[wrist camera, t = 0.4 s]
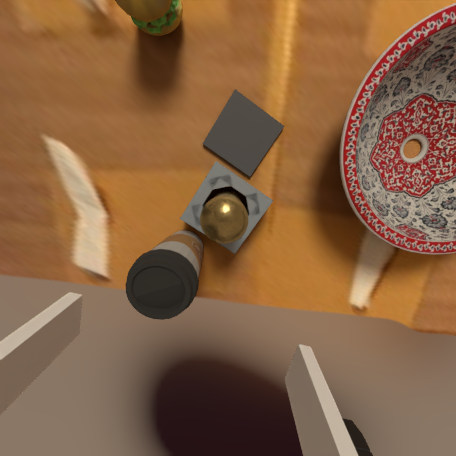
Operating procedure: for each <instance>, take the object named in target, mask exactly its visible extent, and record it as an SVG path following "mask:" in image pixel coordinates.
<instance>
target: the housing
mask: <svg viewBox="0 0 456 456" xmlns="http://www.w3.org/2000/svg"><path fill="white" fill-rule="evenodd" d="M228 186H232V187H233V188H235V189H236V190H238V191H239V192H240V193H242V194H243V195H245V199H246V204H247V213H248V227H247V229H246V231H245V233H244V234H243V236H242V237H240V238H239V239H238V240H236V241H234V242H231V243H226V244H224V243H219V244H220V245H222V246H224V247H225V248H227V249H228V250H230V251H231V252H233V253H234V254H235V253H236V251H237V250H238V249H239V247H240V246H241V245H242V243H243V242H244V240H245V239H246V238H247V236H248V235H249V234H250V232H251V231H252V229H253V228H254V227H255V225H256V224H257V222H258V221H259V220H260V218H261V217H262V216H263V214H264V213H265V211H266V210H267V209H268V207H269V206H270V204H271V203H272V202H273V200H272V199H270V198H269V197H267V196H266V195H264V194H263V193H261V192H260V191H259V190H257V189H256V188H254V187H253V186H251V185H250V184H248V183H247V182H246V181H244V180H243V179H241V178H240V177H238V176H237V175H235V174H234V173H233V172H231V171H230V170H228V169H227V168H225V167H224V166H222V165H221V164H220V163H218V162H217V161H216V162H215V164H214V165H213V167H212V168H211V170H210V172H209V173H208V175H207V176H206V178H205V180H204V181H203V183H202V184H201V186H200V188H199V189H198V191H197V192H196V194H195V196H194V197H193V199H192V200H191V202H190V204H189V205H188V207H187V208H186V210H185V212H184V213H183V215H182V216H181V218H180V219H181V220H183V221H184V222H186V223H188V224H189V225H191V226H192V227H194V228H195V229H197V230H199V231H200V232H202V233H203V234H205V233H204V232H203V230H202V228H201V224H200V215H201V212H202V209H203V207H204V206H205V205H206V200H207V199H208V197H209V196H210V194H211V193H212V191H213V189H218V188H223V187H228Z"/></svg>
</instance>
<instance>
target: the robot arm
mask: <svg viewBox="0 0 456 456" xmlns="http://www.w3.org/2000/svg"><path fill="white" fill-rule="evenodd" d="M81 308H82V295H80V294H76V293H71V292H69V293H68V294H66V295H65V296H63V297H62V298H61V299H59V300H58V301H56V302H55V303H54V304H52V305H51V306H50V307H48V308H47V309H45V310H44V311H43V312H41V313H40V314H38V315H37V316H36V317H34V318H33V319H31V320H30V321H28V322H27V323H26V324H24V325H23V326H21V327H20V328H19V329H17V330H16V331H14V332H13V333H12V334H10V335H9V336H7V337H6V338H5V339H3V340H2V341H1V342H0V415H1V414H2V413H3V411H5V410H6V409H7V408H8V407H9V406H10V405H11V404H12V402H13V401H14V400H15V399H16V398H17V397H18V396H19V395H20V394H21V393H22V392H23V391H24V390H25V389H26V388H27V387H28V386H29V385H30V384H31V383H32V382H33V381H34V380H35V379H36V378H37V377H38V376H39V375H40V374H41V373H42V371H44V370H45V369H46V367H47V366H49V365H50V363H51V362H52V361H53V360H54V359H55V358H56V357H57V356H58V355H59V354H60V353H61V352H62V351H63V350H64V349H65V348H66V347H67V346H68V345H69V344H70V343H71V342H72V341H73V340H74V339H75V338H76V337H77V336H78V335H79V332H80V320H81ZM285 382H286V386H287V390H288V394H289V398H290V402H291V407H292V411H293V415H294V419H295V423H296V427H297V431H298V436H299V440H300V444H301V448H302V452H303V456H373V455H372V453H371V452H370V449H369V447H368V445H367V443H366V441H365V439H364V437H363V435H362V433H361V432H360V431H359V429H358V428H357V427H356V425H355V424H354V423H353V421H351V420H347V419H343V418H342V417H341V415H340V413H339V410H338V408H337V406H336V404H335V401H334V399H333V397H332V395H331V392H330V390H329V388H328V385H327V383H326V381H325V379H324V376H323V374H322V372H321V370H320V367H319V365H318V363H317V360H316V358H315V356H314V354H313V351H312V349H311V347H309V346H305V345H301V344H298V346H297V349H296V351H295V354H294V357H293V359H292V362H291V364H290V367H289V370H288V373H287V375H286V378H285Z"/></svg>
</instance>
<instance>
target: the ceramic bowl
mask: <svg viewBox="0 0 456 456" xmlns="http://www.w3.org/2000/svg"><path fill="white" fill-rule="evenodd" d="M410 139H417V140H419V141H420V142H421V145H422V148H421V152H420V153H419V155H418V156H416V157H415V158H412V159H409V158H406V157H405V156H404V154H403V148H404V145H405V144H406V142H407V141H409V140H410ZM340 173H341V179H342V184H343V188H344V191H345V194H346V197H347V199H348V201H349V204H350V206H351V207H352V209H353V211H354V213H355V214H356V216H357V217H358V218H359V220H360V221H361V222H362V223H363V224H364V225H365V226H366V228H367V229H368V230H370V231H371V232H372V233H373V234H374V235H375V236H377V237H378V238H380V239H381V240H383V241H385V242H386V243H388V244H390V245H392V246H395V247H397V248H400V249H403V250H406V251H410V252H415V253H421V254H450V253H456V3H455V4H452V5H450V6H447V7H445V8H443V9H441V10H439V11H436V12H434V13H432V14H430V15H429V16H427V17H426V18H424V19H422V20H421V21H419V22H417V23H416V24H415V25H413V26H412V27H411V28H409V29H408V30H407V31H405V32H404V33H403V34H402V35H401V36H400V37H398V38H397V39H396V40H395V41H394V42H393V43H392V44H391V45H390V46H389V47H388V48H387V49H386V50H385V51H384V52H383V53H382V55H381V56H380V57H379V58H378V59H377V61H376V62H375V63H374V64H373V66H372V67H371V69H370V70H369V72H368V73H367V74H366V76H365V77H364V79H363V81H362V83H361V84H360V86H359V88H358V89H357V91H356V94H355V96H354V98H353V100H352V102H351V105H350V107H349V110H348V113H347V115H346V119H345V123H344V126H343V131H342V136H341V143H340Z"/></svg>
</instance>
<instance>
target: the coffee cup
mask: <svg viewBox="0 0 456 456" xmlns="http://www.w3.org/2000/svg"><path fill="white" fill-rule="evenodd" d="M202 258H203V243H202V241H201V239H200V238H199V237H198V236H197V235H196V234H195V233H193V232H190V231H185V230H183V231H178V232H176V233H174V234H173V235H171V236H169V237H168V238H166V239H165V240H163V241H162V242H161V243H159V244H158V245H157V246H156V247H154V248H153V249H152V250H151V251H149V252H146V253H144V254H143V255H141V256H140V257H139V258H138V259H137V260H136V262H135V263H134V264H133V266H132V267H131V269H130V270H129V273H128V276H127V282H126V293H127V297H128V300H129V301H130V303H131V304H132V306H133V307H134V308H135V309H136V310H137V311H138V312H139V313H141V314H143V315H145V316H147V317H150V318H153V319H169V318H172V317H175V316H177V315H178V314H180V313H181V312H182V311H184V310H185V309H186V308H187V307H189V305H190V304H191V303H192V301H193V299H194V297H195V296H196V293H197V290H198V282H199V280H198V277H199V274H200V270H201V264H202Z"/></svg>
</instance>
